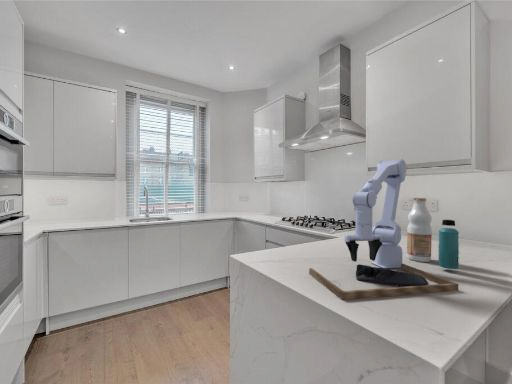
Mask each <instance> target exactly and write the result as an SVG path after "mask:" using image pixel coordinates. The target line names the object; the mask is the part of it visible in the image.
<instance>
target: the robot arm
mask: <svg viewBox="0 0 512 384" xmlns="http://www.w3.org/2000/svg"><path fill="white" fill-rule="evenodd" d="M407 169H408V168H407V163H406V161H405V159H403V158H402V159H398V160H397V159H396V160H392V159H391V160H379V161H378V163H377V164H376V172H375V174H374V176H373V177H372V178H369V179H368V180H367V181H366V183H365V184H364V186H363V187H362V188H361V189H360V191H357V192H355V193H354V194H353V197H352V204H353V207H354V208H353V210H354V212H355V230H354V231H355V234H349V235H344V239H343V240H344V242H345V245H346V246H347V249H348V251H349V254H350V258H351V261H352V262H357V260H358V250H359V246H360V244H359V243H357V242H367V243H368V244H367V245H368V251H369V255H368V256H369V260H371V264H373V265H375V266H376V267H379V268H383V269H395V268H397V269H398V268H399V269H400V268H401V264H403V249H402V246H401V245H399V244H400V243H401V242H402V241H401V240H402V233H401V232H402V228H401V226H400V225H399V224H398V223H397V222H396V221H395V220H396V214H397V208H398V202H399V196H400V190H401V183H403V182H404V181H405V179H406V175H407ZM383 182H384V183H386V191H385V196H384V201H383V208H382V213H381V219H380V220H377V221H376V222H374V225H373V210H374V209H373V208H374V207H375V206H376V203H377V198H378V195H379V193H380V192H381V190H382V189H383V184H382V183H383Z"/></svg>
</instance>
